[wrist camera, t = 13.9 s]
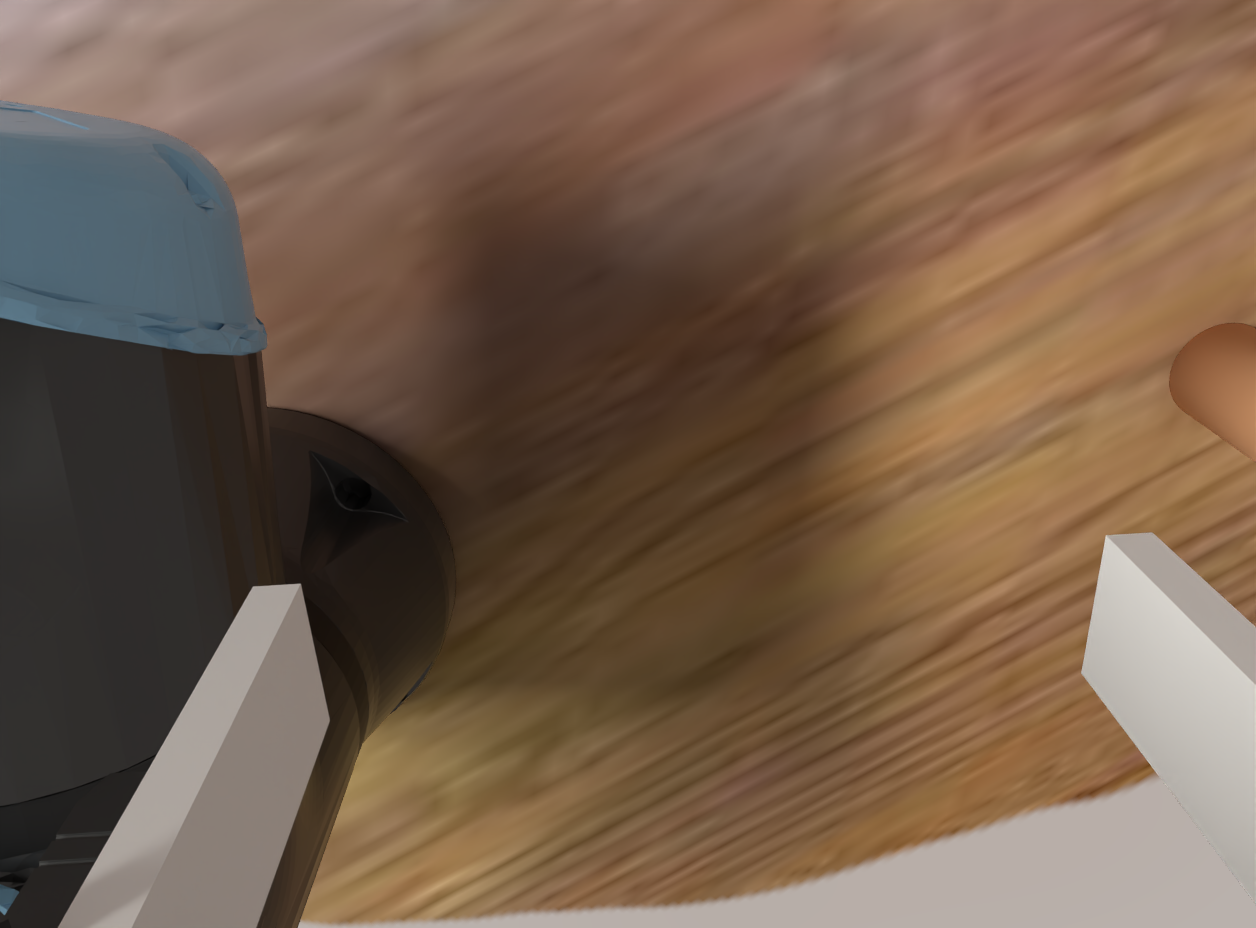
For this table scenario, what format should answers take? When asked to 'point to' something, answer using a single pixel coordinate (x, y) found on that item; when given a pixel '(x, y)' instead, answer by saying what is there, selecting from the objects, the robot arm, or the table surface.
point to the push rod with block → (1220, 383)
